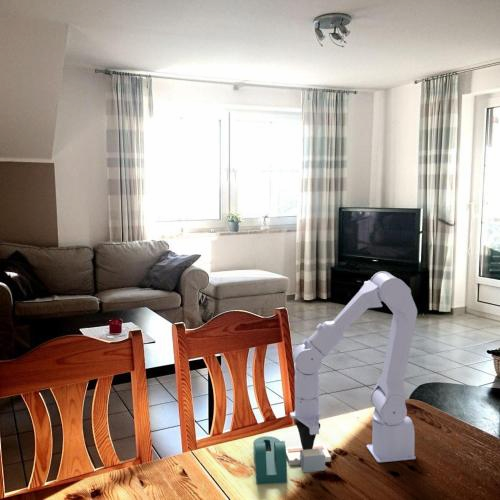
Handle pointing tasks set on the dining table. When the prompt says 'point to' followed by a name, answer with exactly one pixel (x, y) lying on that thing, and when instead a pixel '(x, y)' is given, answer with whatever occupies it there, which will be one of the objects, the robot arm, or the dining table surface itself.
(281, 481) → the bracket
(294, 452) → the spiral notebook
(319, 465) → the stub
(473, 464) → the dining table surface
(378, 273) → the robot arm
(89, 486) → the dining table surface
